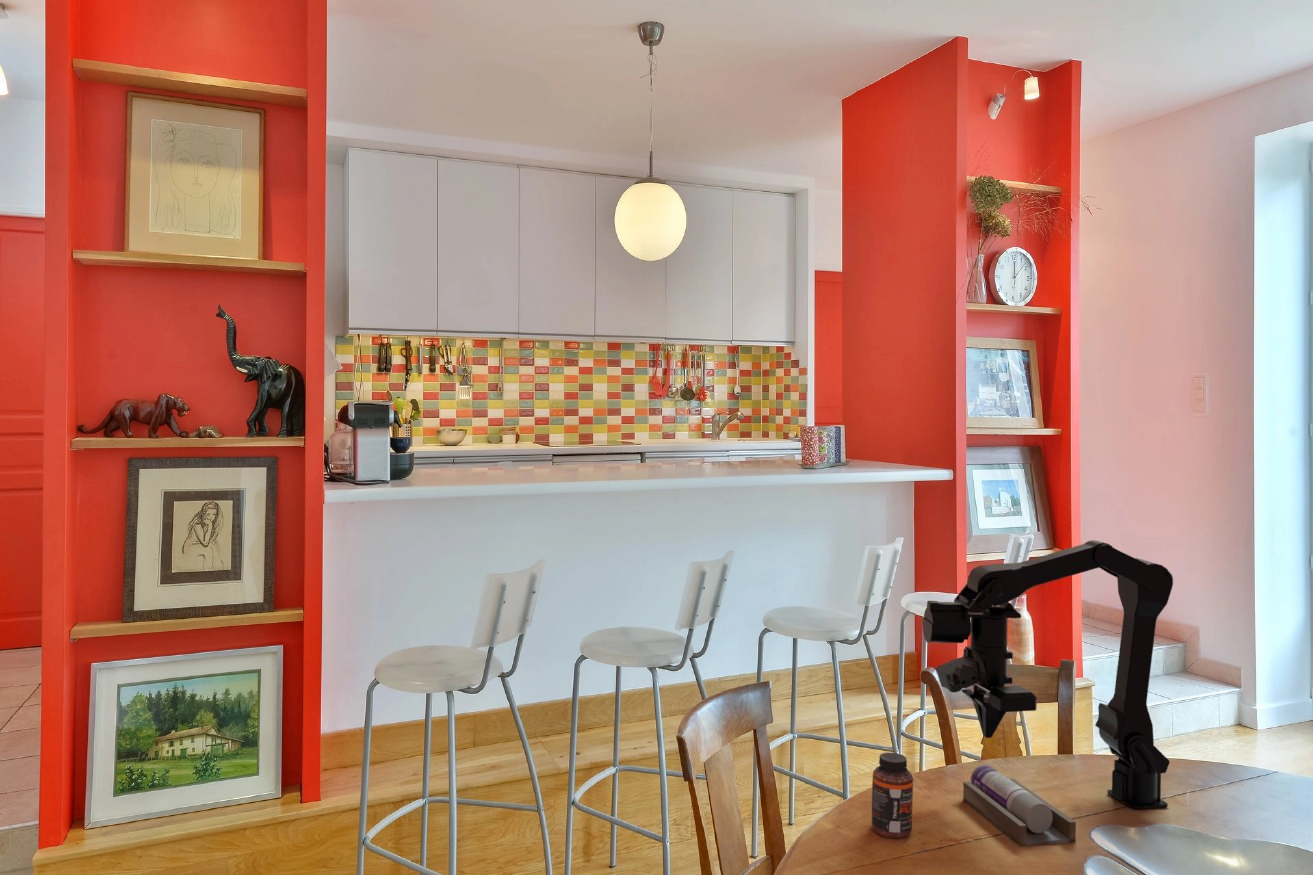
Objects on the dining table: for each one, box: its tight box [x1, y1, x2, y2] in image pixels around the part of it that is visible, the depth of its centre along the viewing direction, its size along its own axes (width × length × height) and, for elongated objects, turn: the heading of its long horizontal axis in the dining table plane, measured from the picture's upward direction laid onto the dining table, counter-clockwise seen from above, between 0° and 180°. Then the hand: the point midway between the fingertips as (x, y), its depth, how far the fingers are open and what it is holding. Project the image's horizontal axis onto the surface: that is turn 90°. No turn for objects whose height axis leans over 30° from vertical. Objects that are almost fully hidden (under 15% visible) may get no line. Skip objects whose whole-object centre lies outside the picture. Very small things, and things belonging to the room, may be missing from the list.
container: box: [970, 764, 1053, 833], centre depth 137 cm, size 5×5×15 cm
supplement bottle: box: [871, 752, 914, 839], centre depth 131 cm, size 6×6×11 cm
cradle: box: [962, 778, 1077, 847], centre depth 136 cm, size 9×16×3 cm, turn 10°
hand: (987, 737), depth 144 cm, fingers closed
